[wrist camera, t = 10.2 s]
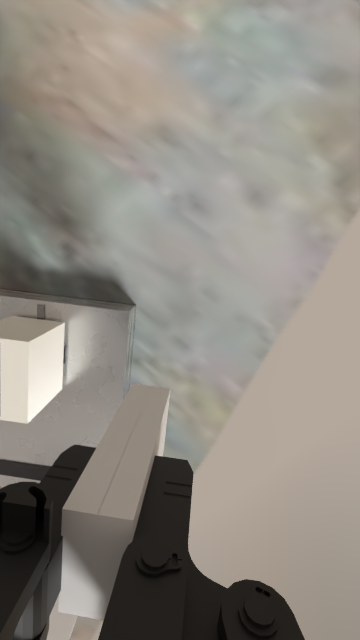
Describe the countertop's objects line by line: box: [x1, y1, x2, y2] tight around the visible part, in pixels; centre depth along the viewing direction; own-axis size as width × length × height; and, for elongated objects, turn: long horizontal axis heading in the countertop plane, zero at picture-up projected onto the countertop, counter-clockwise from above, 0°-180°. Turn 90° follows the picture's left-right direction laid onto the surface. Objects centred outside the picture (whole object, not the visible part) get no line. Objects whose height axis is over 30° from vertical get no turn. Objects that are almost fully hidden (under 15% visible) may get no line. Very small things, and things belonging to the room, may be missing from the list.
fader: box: [0, 316, 65, 424], centre depth 18 cm, size 3×4×4 cm
